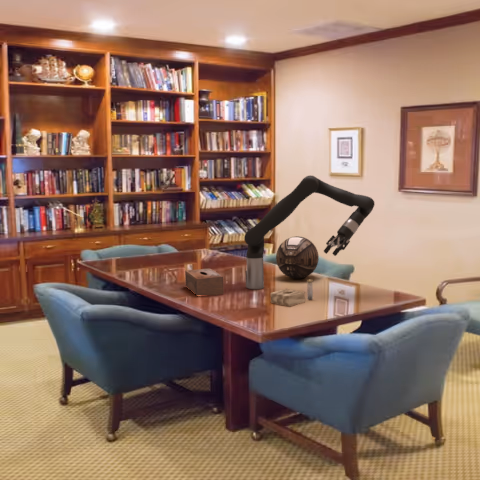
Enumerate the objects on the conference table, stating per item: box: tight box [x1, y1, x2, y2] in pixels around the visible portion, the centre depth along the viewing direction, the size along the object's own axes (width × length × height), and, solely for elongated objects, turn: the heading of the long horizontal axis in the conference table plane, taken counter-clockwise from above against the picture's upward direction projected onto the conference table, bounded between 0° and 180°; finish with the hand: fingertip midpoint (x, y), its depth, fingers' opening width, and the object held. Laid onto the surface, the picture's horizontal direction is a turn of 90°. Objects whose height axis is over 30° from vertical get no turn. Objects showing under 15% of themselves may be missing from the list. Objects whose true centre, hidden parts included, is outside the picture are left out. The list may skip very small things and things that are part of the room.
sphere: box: [275, 235, 320, 280], centre depth 357 cm, size 25×25×25 cm
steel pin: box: [306, 279, 314, 301], centre depth 305 cm, size 3×3×10 cm
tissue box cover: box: [184, 268, 225, 296], centre depth 331 cm, size 26×14×10 cm, turn 19°
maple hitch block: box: [270, 288, 306, 307], centre depth 301 cm, size 12×12×5 cm
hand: (329, 253), depth 307 cm, fingers open, 8 cm apart
